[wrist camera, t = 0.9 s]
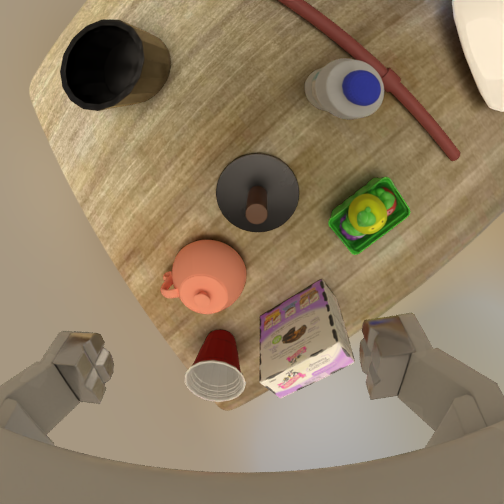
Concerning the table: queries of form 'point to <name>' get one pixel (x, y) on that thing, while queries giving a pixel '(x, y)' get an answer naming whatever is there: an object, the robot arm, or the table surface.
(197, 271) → the sugar bowl
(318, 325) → the candy box
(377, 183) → the fruit basket
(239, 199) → the lid
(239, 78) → the table surface
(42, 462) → the robot arm
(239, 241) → the table surface
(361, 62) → the bottle
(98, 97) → the faceted dark cup
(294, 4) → the red brown collared rod
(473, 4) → the bowl
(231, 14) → the table surface
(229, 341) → the plastic cup
